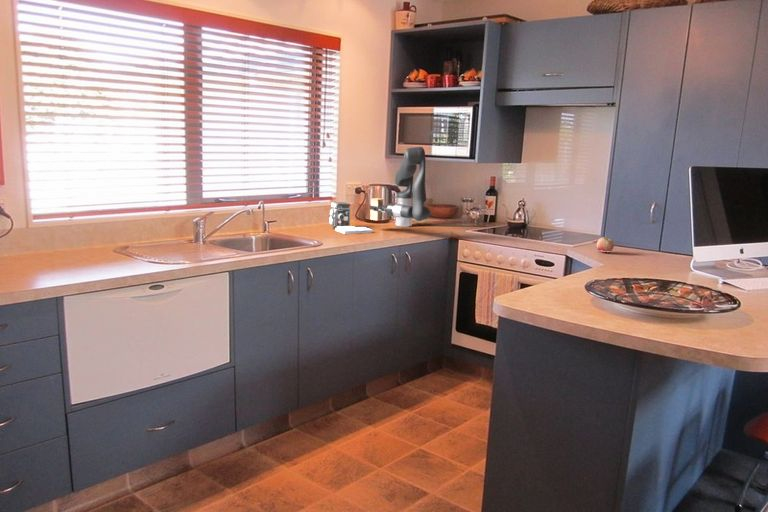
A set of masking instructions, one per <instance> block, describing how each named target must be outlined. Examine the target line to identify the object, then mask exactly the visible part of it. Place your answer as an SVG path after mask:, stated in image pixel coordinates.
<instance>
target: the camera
mask: <svg viewBox="0 0 768 512" xmlns="http://www.w3.org/2000/svg"><path fill="white" fill-rule="evenodd" d="M330 207H331V208H330V210H329V214H328V218H329V224H330V226H332V228H334V229H335V228H337V227H339V226H351V224H350V223H351V222H350V221H351V208H350V207H351V203H348V202H343V201H342V202H341V201H333V202H331V203H330Z"/></svg>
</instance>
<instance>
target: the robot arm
mask: <svg viewBox="0 0 768 512" xmlns="http://www.w3.org/2000/svg"><path fill="white" fill-rule="evenodd" d="M417 165H419V169H418V167H417ZM417 169H418V173H417V175H416V178H415V180H414V175H415V173H416V172H417ZM394 182H395V185H396V186H398V187H404V188H405V187H406V189H404V190H402V191H399V192H396V203H394V202H390V203H389V204H383V206H372V205H371V204H370V205H369V210H370V211H371V210H374V211H377V212H383V213H386V214H387V215H388V216H389V217H393V218H394V217H395V226H396V227H405V228H406V227H412V224H413V220H415V221H417V222H421V221H424V220H427V219H428V218H430V216H431V210H430V209H429V208H428V207H426V206H424V203H426V202H427V191H426V152H425V149H424V147H423V146H417V147H408V148H406V149H405V150H404V152H403V159H402V161H401V164H400V166H399V169H398V170H397V172H396V174H395V176H394ZM412 199H413V200H412ZM412 202H413V204H412Z"/></svg>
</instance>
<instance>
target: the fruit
mask: <svg viewBox="0 0 768 512" xmlns="http://www.w3.org/2000/svg"><path fill="white" fill-rule="evenodd" d="M596 248H597V250H603V251H611V252H612V251H613V249H614V248H615V243H614V240H613V239H610V238H608V237H607V236H602V237H600V238H599V239H598V240H597V241H596Z"/></svg>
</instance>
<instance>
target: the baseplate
mask: <svg viewBox="0 0 768 512" xmlns="http://www.w3.org/2000/svg"><path fill="white" fill-rule="evenodd" d="M334 229H335V232H338V233H341V234H343V235H348V234H349V235H351V234H369V233H370V234H372V233H374V229H371V228H367V227H365V226H353V225H350V226H339V227H337V228H334Z"/></svg>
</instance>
